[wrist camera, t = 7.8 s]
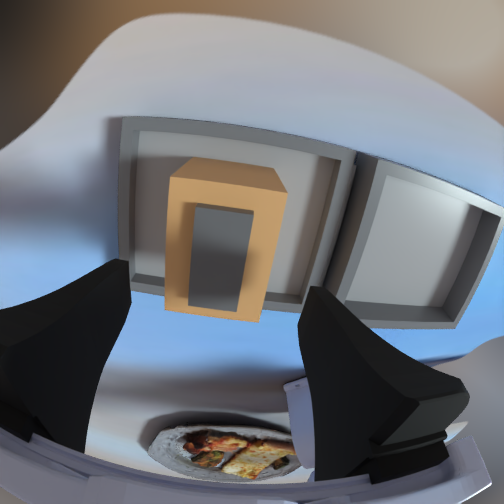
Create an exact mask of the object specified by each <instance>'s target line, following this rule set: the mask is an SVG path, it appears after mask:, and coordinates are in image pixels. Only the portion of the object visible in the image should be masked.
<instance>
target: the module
mask: <svg viewBox="0 0 504 504" xmlns="http://www.w3.org/2000/svg"><path fill="white" fill-rule="evenodd" d="M287 196H288V192H287V190H286V189H285V187H284V185H283V183H282V182H281V180H280V178H279V176H278V174H277V173H276V171H275V169H274V168H270V167H264V166H258V165H251V164H245V163H238V162H231V161H224V160H217V159H209V158H200V157H193V158H191V159H190V160H189V161H188V162H187V163H185V164H184V165H183V166H182V167H181V168H179V169H178V170H177V171H176V172H175V173H174V174H172V175H171V176H170V183H169V196H168V210H167V227H166V250H165V310H168V311H174V312H181V313H187V314H194V315H201V316H208V317H216V318H224V319H232V320H240V321H249V322H258V323H259V319H260V315H261V311H262V307H263V302H264V298H265V294H266V290H267V285H268V281H269V277H270V272H271V268H272V264H273V259H274V255H275V250H276V246H277V241H278V237H279V232H280V228H281V223H282V219H283V214H284V210H285V205H286V200H287Z"/></svg>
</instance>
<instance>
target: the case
mask: <svg viewBox="0 0 504 504" xmlns="http://www.w3.org/2000/svg"><path fill="white" fill-rule="evenodd" d="M355 165H357V167H356V172H355V176H354V180H353V183H352V187H351V191H350V195H349V199H348V202H347V206H346V210H345V213H344V217H343V220H342V224H341V227H340V231H339V234H338V238H337V241H336V244H335V247H334V251H333V254H332V257H331V260H330V263H329V267H328V270H327V273H326V276H325V279H324V282H323V285H322V287H325V288H326V289H327V290H329V291H330V292H331V293H332V294H333V295H334V296H335V297H336V298H337V299H338V300H339V301H340V302H341V303H342V304H343V305H344V306H345V307H346V308H348V309H349V310H350V311H351V312H352V313H353V314H354V315H355V316H356V317H357V318H358V319H359V320H360V321H361V322H363V323H364V324H365V325H366V326H367V327H368V328H383V329H455V328H456V326H457V324H458V323H459V321H460V319H461V317H462V316H463V314H464V312H465V310H466V309H467V307H468V305H469V303H470V301H471V299H472V297H473V295H474V293H475V291H476V289H477V287H478V285H479V283H480V281H481V279H482V277H483V275H484V273H485V271H486V268H487V266H488V264H489V262H490V259H491V257H492V255H493V252H494V250H495V247H496V245H497V242H498V239H499V237H500V234H501V231H502V229H503V226H504V208H503V207H502V206H500V205H498V204H496V203H494V202H492V201H491V200H489V199H487V198H485V197H483V196H480V195H478V194H476V193H474V192H472V191H469V190H467V189H465V188H462V187H460V186H458V185H455V184H453V183H450V182H448V181H445V180H443V179H440V178H438V177H435V176H433V175H430V174H427V173H425V172H422V171H419V170H416V169H413V168H411V167H408V166H405V165H402V164H399V163H396V162H393V161H390V160H386V159H383V158H380V157H377V156H373V155H370V154H367V153H363V152H360V151H359V152H358V156H357V160H356V164H355Z"/></svg>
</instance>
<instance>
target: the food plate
mask: <svg viewBox="0 0 504 504" xmlns="http://www.w3.org/2000/svg"><path fill="white" fill-rule="evenodd" d="M187 423H188V422H187ZM186 425H187V426H188V427H185V425H178V426H177V427H176V428H175V429H171V427H167V428H165V429H164V430H162V431H161V432H159V434H158V435H157V436H156V438H155V439H154V441H153V442H152V444H151V445H150V447H149V450H147V451H148V452H147V453H148V455H149V456H150V457H152V458H153V459H154V460H155V461H158V462H159V463H161V464H162V465H164V466H165V467H167V468H169V469H171V470H173V471H176V472H178V473H181V474H184V475H187V476H191V477H195V478H198V479H203V480H212V481H217V482H253V481H261V480H266V479H270V478H274V477H278V476H280V477H281V475H282V476H284V475H287V474H289V473H291V472H292V471H294V470H295V469H297V468H299V467H300V466H302V465H301V463H300V461H299V460H298V457H297V455H296V452H295V448H294V444H293V440H292V435H291V434H290V433H285V432H281V431H277V430H270V429H268V428H265V427H262V426H259V427H258V426H247V425H212V424H205V423H201V424H191V425H188V424H186ZM175 443H177V444H176V445H175ZM181 445H182V446H183V449H184V450H180V448H179V447H182V446H181ZM177 446H178V448H179V449H175V448H177ZM181 451H187V452H189V454H193V455H195V454H198V455H197V456H195V457H193V458H191V460H189V459H188V458H186V457H187V456H185V457H183V456H182V455H183V454H180V453H179V452H181ZM224 458H225V461H224V462H223V464H222V468H220V467H214V466H217V464H219V463H220V462H221V460H222V459H224ZM288 472H289V473H288ZM286 473H287V474H286ZM283 474H284V475H283Z"/></svg>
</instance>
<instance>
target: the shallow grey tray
mask: <svg viewBox="0 0 504 504" xmlns="http://www.w3.org/2000/svg"><path fill="white" fill-rule="evenodd" d="M355 155H356V151H355V150H352V149H349V148H346V147H343V146H339V145H335V144H331V143H327V142H323V141H319V140H314V139H310V138H305V137H301V136H296V135H291V134H286V133H281V132H276V131H270V130H264V129H259V128H252V127H246V126H239V125H232V124H225V123H217V122H208V121H199V120H188V119H176V118H161V117H140V116H131V117H123V119H122V129H121V140H120V154H119V173H118V245H119V259H120V260H127V261H129V273H130V289H131V291H136V292H142V293H148V294H154V295H160V296H165V250H166V227H167V210H168V196H169V183H170V176H171V175H172V174H174V173H175V172H176V171H177V170H178V169H179V168H181V167H182V166H183V165H184V164H185V163H187V162H188V161H189V160H190V159H191V158H193V157H200V158H209V159H217V160H224V161H231V162H238V163H245V164H251V165H258V166H264V167H270V168H274V169H275V171H276V173H277V174H278V176H279V178H280V180H281V182H282V183H283V185H284V187H285V189H286V190H287V192H288V196H287V200H286V205H285V210H284V214H283V219H282V223H281V228H280V232H279V237H278V241H277V246H276V250H275V255H274V259H273V264H272V268H271V272H270V277H269V281H268V285H267V290H266V294H265V298H264V302H263V307H262V309H263V310H272V311H282V312H292V313H302V310H303V307H304V304H305V301H306V297H307V294H308V291H309V288H310V286H319V287H322V285H323V282H324V279H325V276H326V273H327V270H328V267H329V263H330V260H331V257H332V254H333V251H334V247H335V244H336V241H337V238H338V234H339V231H340V227H341V224H342V220H343V217H344V213H345V210H346V206H347V202H348V199H349V195H350V191H351V187H352V183H353V180H354V176H355V172H356V167H357V165H354V160H355Z"/></svg>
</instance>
